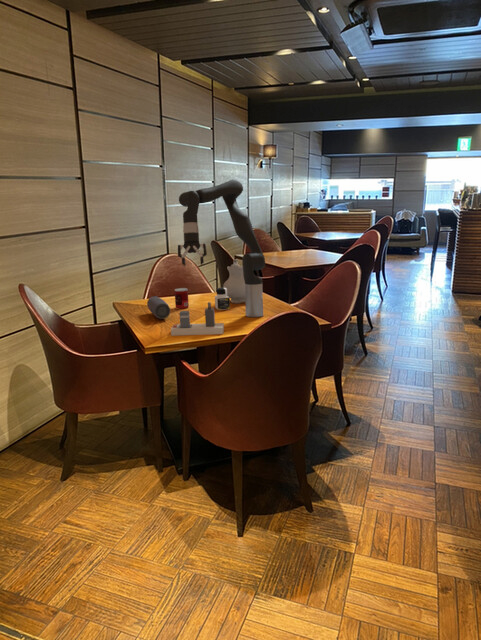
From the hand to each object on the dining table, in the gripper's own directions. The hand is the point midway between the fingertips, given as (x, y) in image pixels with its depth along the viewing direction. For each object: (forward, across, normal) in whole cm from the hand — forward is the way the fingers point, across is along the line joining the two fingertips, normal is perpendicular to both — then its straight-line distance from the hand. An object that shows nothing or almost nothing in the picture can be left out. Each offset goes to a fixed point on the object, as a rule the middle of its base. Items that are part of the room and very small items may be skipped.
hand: (193, 265), depth 242 cm
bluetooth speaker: (+27, +22, -19) cm, 39 cm away
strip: (+32, -2, +18) cm, 36 cm away
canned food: (+24, +11, -39) cm, 47 cm away
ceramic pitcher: (+22, -22, -53) cm, 62 cm away
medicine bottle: (+25, -12, -33) cm, 43 cm away
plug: (+32, +4, +17) cm, 36 cm away
